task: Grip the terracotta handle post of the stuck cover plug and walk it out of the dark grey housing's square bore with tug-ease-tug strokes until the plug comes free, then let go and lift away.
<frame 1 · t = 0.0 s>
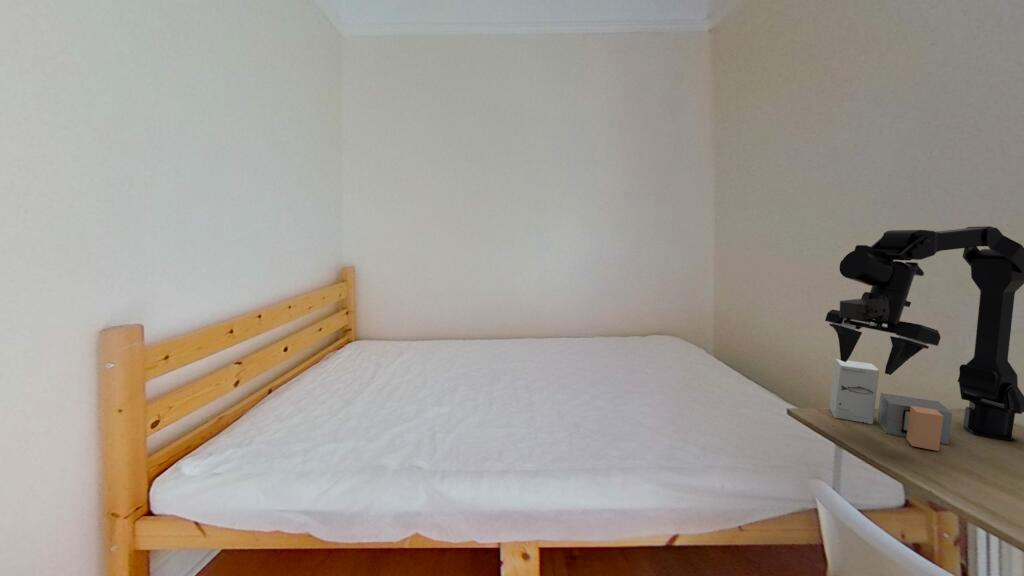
hand: (864, 367, 90), 15 cm above the table, tool pointing down, fingers open, 9 cm apart
cover: (917, 420, 94), point 4 cm above the table, slide at 0.0 cm
housing: (910, 432, 98), on the table
supplement box: (850, 417, 106), on the table
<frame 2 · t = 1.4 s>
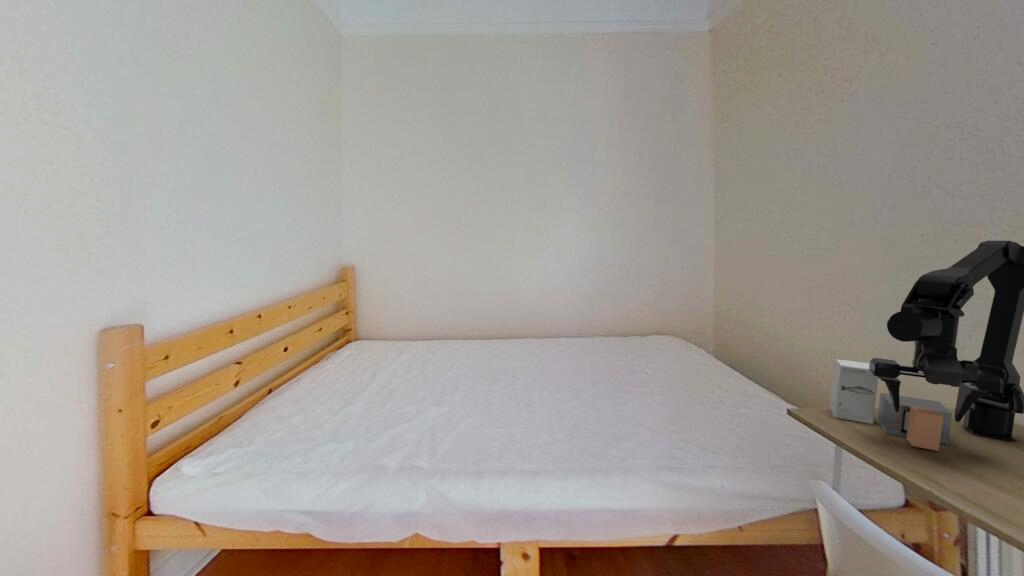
hand: (926, 416, 91), 6 cm above the table, tool pointing down, fingers open, 9 cm apart
nothing on the table moved.
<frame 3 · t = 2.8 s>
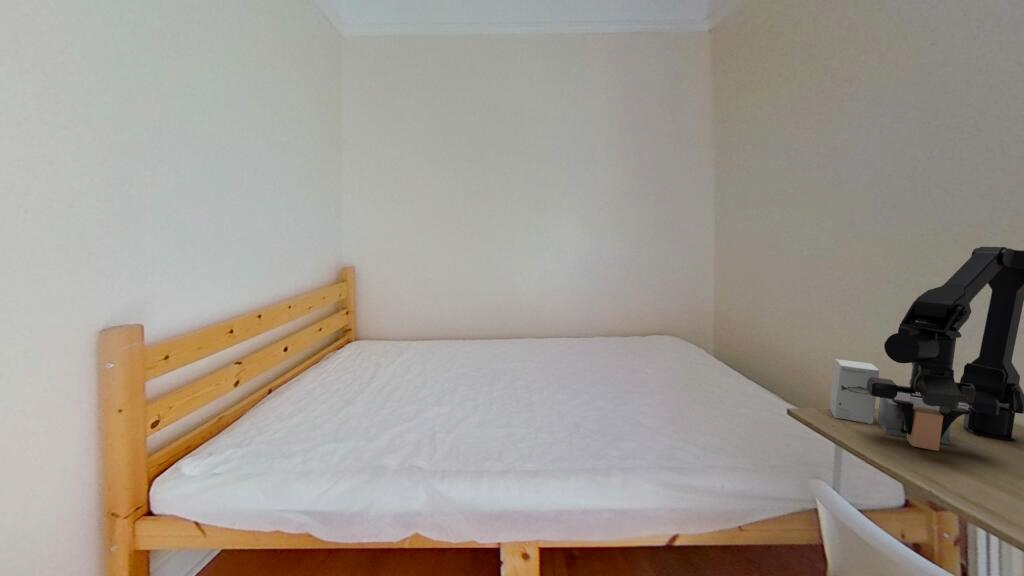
hand: (923, 436, 91), 2 cm above the table, tool pointing down, fingers closed on cover, 4 cm apart
cover: (917, 420, 94), point 4 cm above the table, slide at 0.0 cm, touching gripper
everything else where it was.
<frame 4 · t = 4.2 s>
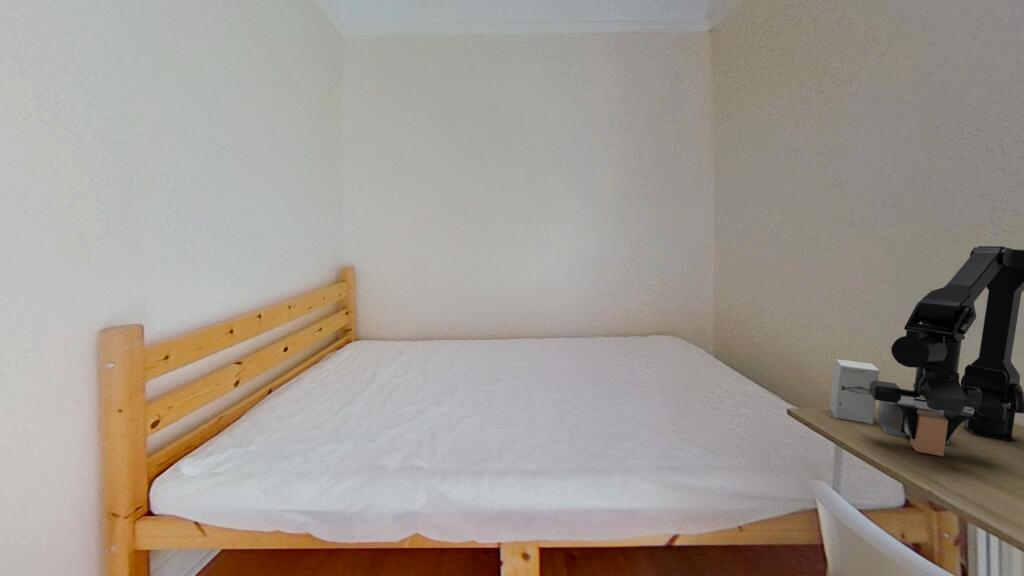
hand: (927, 441, 89), 2 cm above the table, tool pointing down, fingers closed on cover, 4 cm apart
cover: (921, 425, 92), point 4 cm above the table, slide at 2.7 cm, touching gripper
everything else where it was.
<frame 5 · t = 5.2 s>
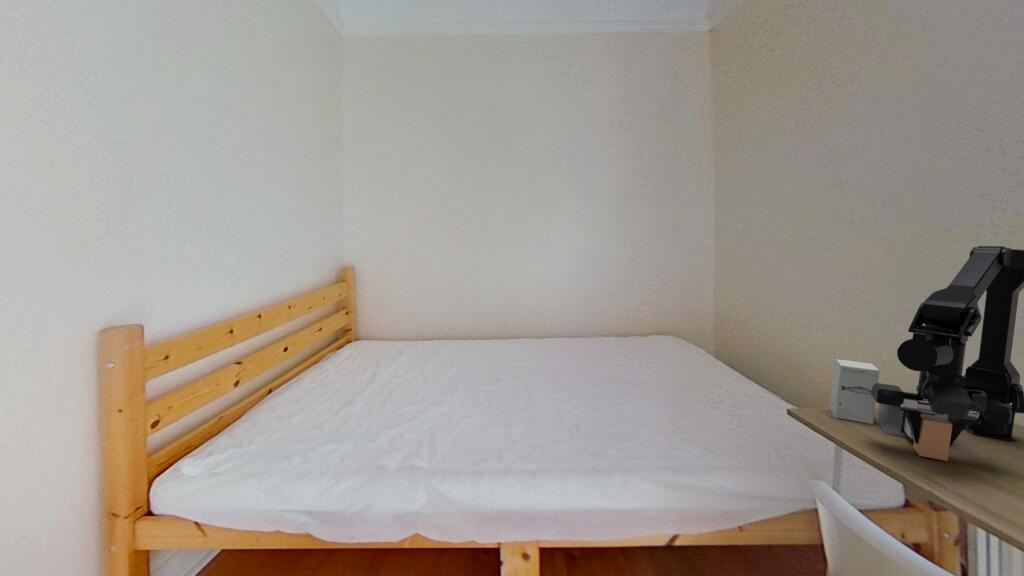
hand: (930, 445, 87), 2 cm above the table, tool pointing down, fingers closed on cover, 4 cm apart
cover: (925, 428, 90), point 4 cm above the table, slide at 4.8 cm, touching gripper
everything else where it was.
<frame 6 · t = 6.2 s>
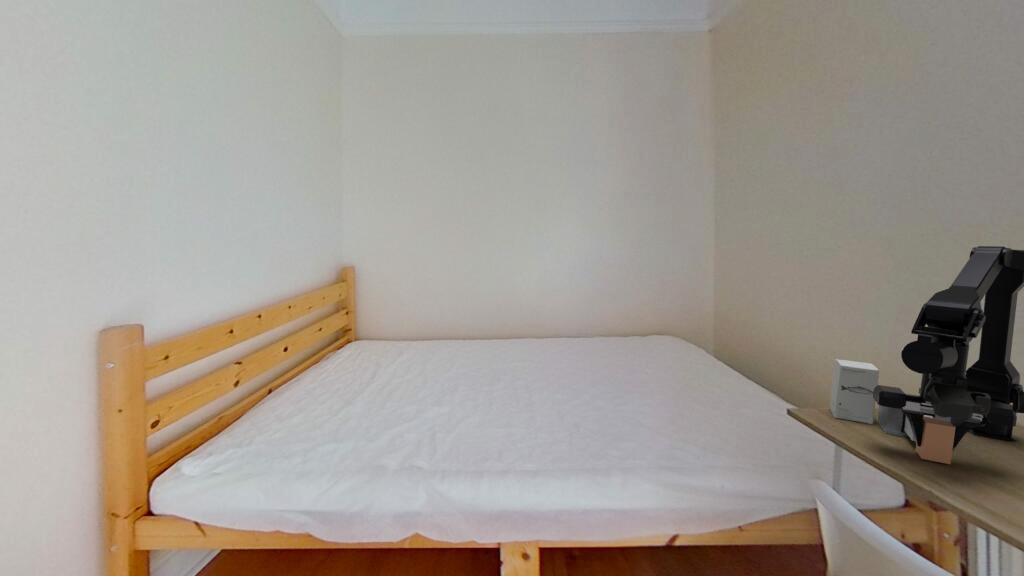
hand: (933, 448, 85), 2 cm above the table, tool pointing down, fingers closed on cover, 4 cm apart
cover: (927, 431, 89), point 4 cm above the table, slide at 6.4 cm, touching gripper
everything else where it was.
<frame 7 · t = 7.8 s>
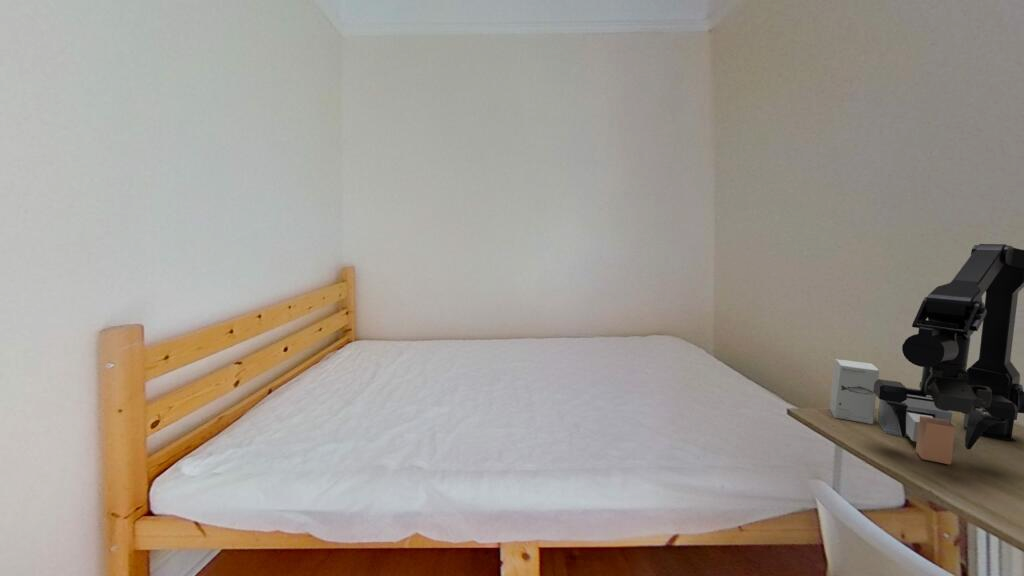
hand: (934, 442, 85), 3 cm above the table, tool pointing down, fingers open, 9 cm apart
cover: (927, 431, 89), point 4 cm above the table, slide at 6.4 cm
everything else where it was.
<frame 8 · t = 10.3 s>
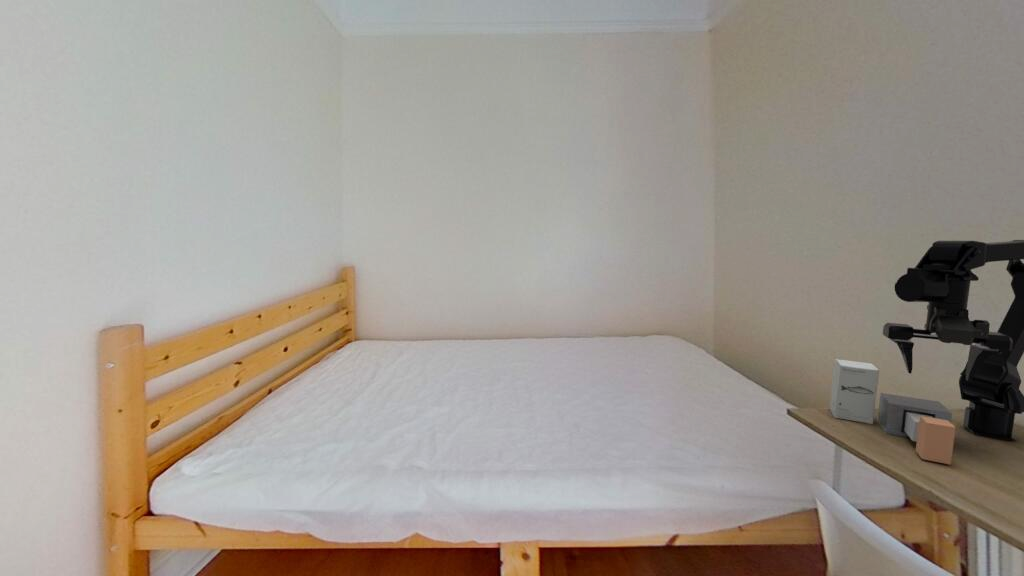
hand: (938, 376, 94), 13 cm above the table, tool pointing down, fingers open, 9 cm apart
nothing on the table moved.
at the end: cover slide at 6.4 cm; the gripper is holding nothing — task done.
